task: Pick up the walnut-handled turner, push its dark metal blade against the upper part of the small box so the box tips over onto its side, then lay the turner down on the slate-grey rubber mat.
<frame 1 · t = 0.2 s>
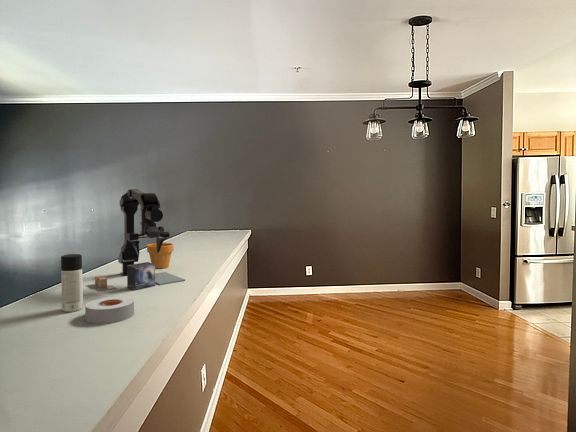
hand: (148, 253, 171), 14 cm above the table, tool pointing down, fingers open, 9 cm apart
small box: (141, 287, 167), on the table
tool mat: (162, 278, 183), on the table
flower pot: (160, 267, 210), on the table
turner: (100, 285, 168), on the table
tape roll: (110, 317, 129), on the table
spray can: (72, 310, 135), on the table
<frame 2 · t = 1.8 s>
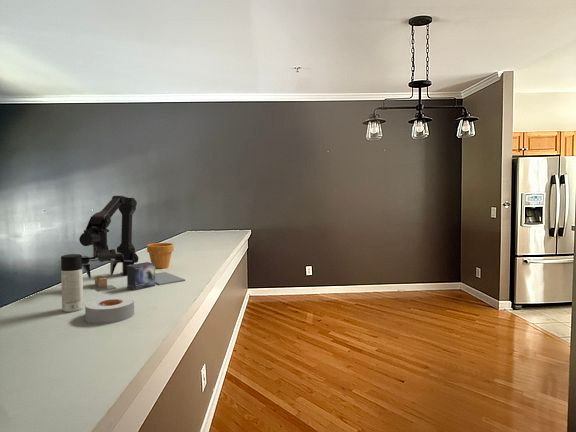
hand: (100, 276, 168), 4 cm above the table, tool pointing down, fingers open, 9 cm apart
nothing on the table moved.
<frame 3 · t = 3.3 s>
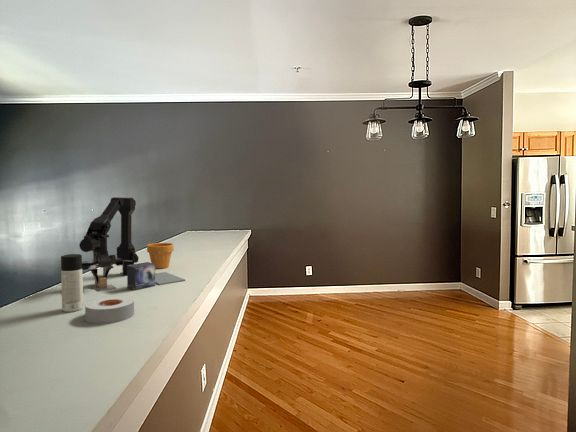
hand: (100, 282, 168), 2 cm above the table, tool pointing down, fingers closed on turner, 3 cm apart
turner: (100, 285, 168), on the table, touching gripper
everything else where it was.
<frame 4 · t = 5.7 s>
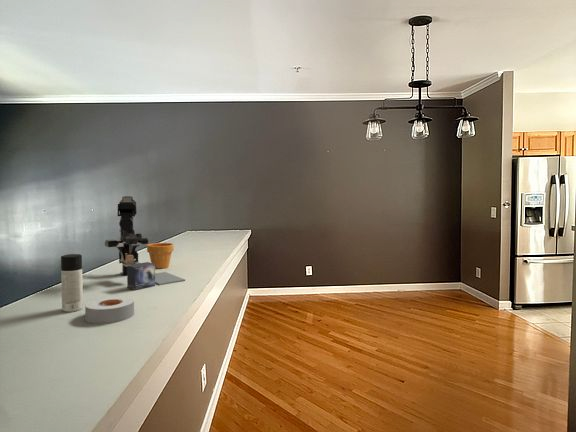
hand: (127, 259, 179), 10 cm above the table, tool pointing down, fingers closed on turner, 3 cm apart
turner: (127, 262, 179), point 9 cm above the table, touching gripper
everything else where it was.
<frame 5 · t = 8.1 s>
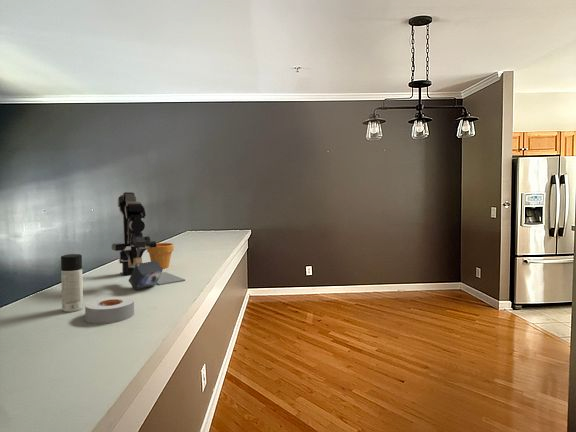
hand: (135, 263, 172), 10 cm above the table, tool pointing down, fingers closed on turner, 3 cm apart
small box: (142, 283, 167), point 2 cm above the table
turner: (135, 266, 172), point 8 cm above the table, tilted 11°, touching gripper
everything else where it was.
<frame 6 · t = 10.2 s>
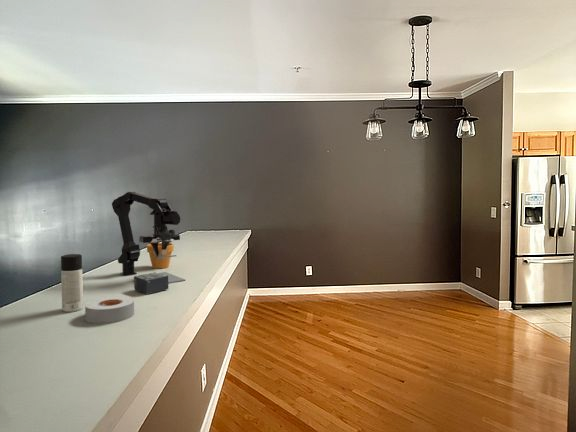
hand: (160, 255, 184), 11 cm above the table, tool pointing down, fingers closed on turner, 3 cm apart
small box: (144, 281, 165), point 3 cm above the table
turner: (160, 258, 183), point 10 cm above the table, tilted 11°, touching gripper
everything else where it was.
when the fingers open (4 cm above the table, at t = 12.2 s): turner drops 2 cm, resting on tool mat.
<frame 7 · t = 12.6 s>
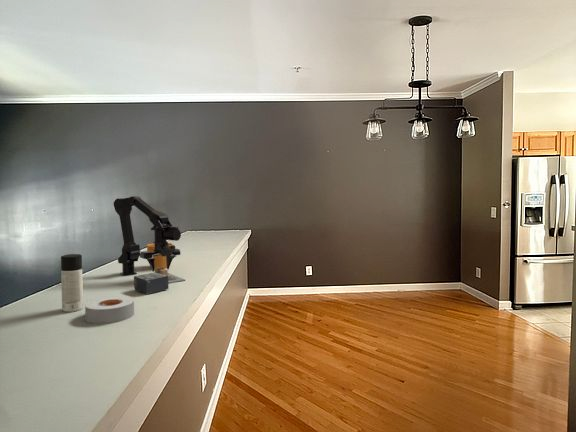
hand: (160, 270, 184), 4 cm above the table, tool pointing down, fingers open, 7 cm apart
turner: (161, 276, 184), point 1 cm above the table, touching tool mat
everything else where it was.
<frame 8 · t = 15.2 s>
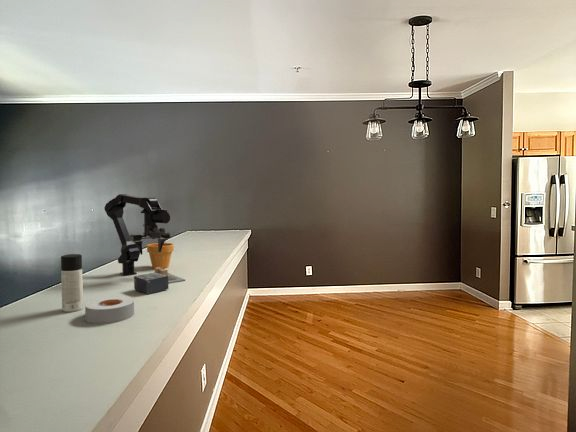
hand: (150, 253, 185), 12 cm above the table, tool pointing down, fingers open, 9 cm apart
nothing on the table moved.
at the end: small box tilted 89°; turner inside the target area (0.3 cm from its centre), point 0.6 cm above the table; the gripper is holding nothing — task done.
